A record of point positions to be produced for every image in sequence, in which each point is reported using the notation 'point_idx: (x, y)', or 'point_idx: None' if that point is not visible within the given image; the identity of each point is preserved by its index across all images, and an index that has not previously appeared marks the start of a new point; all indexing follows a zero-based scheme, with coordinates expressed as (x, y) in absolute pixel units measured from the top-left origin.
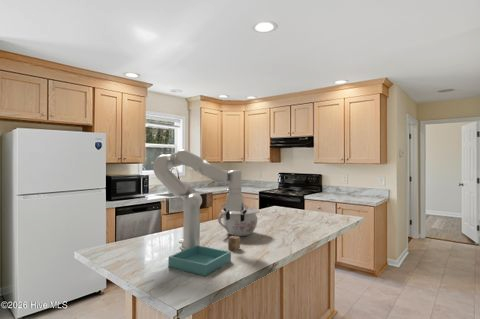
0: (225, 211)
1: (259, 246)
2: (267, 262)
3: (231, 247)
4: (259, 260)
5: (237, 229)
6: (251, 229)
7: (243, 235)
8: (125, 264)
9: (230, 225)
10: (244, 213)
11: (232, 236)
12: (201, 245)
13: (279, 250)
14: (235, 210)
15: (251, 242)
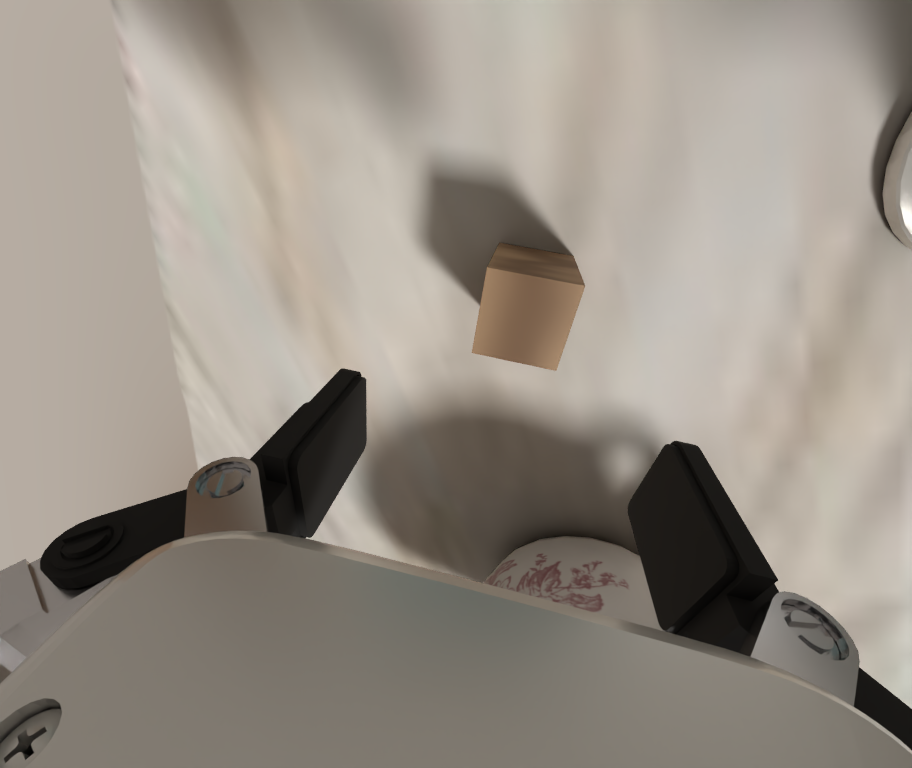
0: (847, 660)
1: (382, 393)
2: (154, 39)
3: (541, 255)
4: (226, 62)
5: (577, 563)
6: (487, 579)
7: (539, 539)
8: None
9: (645, 599)
10: (174, 494)
11: (550, 341)
12: (910, 213)
13: (249, 354)
14: (360, 579)
15: (458, 452)
